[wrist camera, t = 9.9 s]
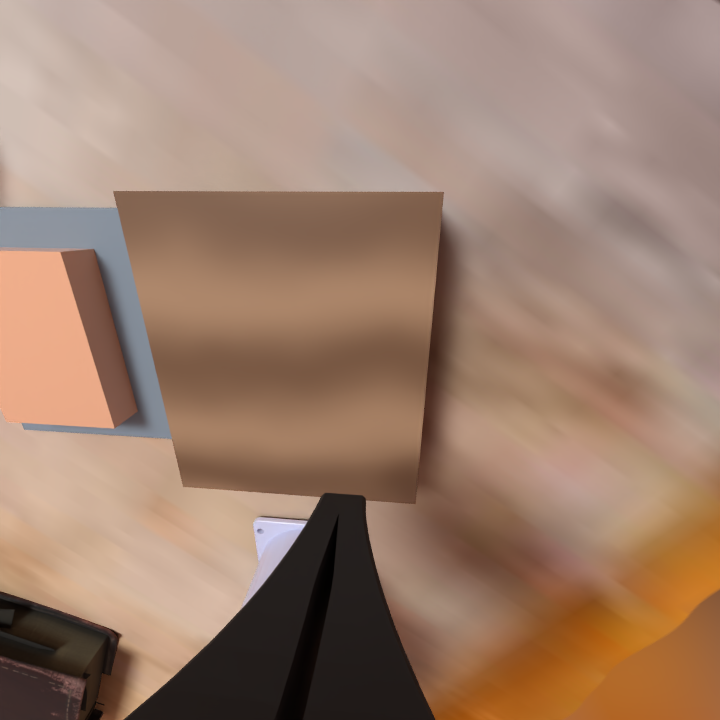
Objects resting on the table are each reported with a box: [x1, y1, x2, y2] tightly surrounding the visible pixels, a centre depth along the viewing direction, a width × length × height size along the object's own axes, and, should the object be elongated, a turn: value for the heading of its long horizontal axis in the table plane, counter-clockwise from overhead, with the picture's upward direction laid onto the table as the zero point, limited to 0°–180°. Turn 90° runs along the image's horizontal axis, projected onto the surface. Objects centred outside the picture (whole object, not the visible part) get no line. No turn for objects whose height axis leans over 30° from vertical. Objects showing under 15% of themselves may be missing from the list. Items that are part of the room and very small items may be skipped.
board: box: [113, 191, 444, 504], centre depth 18 cm, size 15×13×4 cm
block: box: [0, 247, 138, 429], centre depth 20 cm, size 10×7×2 cm
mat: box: [0, 207, 172, 439], centre depth 21 cm, size 14×13×1 cm
